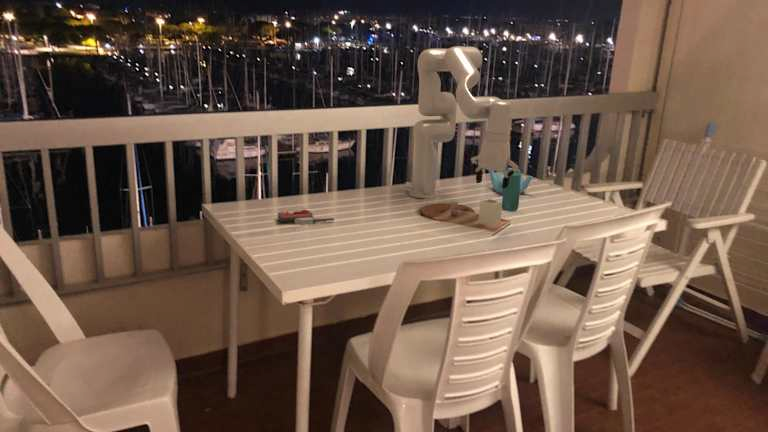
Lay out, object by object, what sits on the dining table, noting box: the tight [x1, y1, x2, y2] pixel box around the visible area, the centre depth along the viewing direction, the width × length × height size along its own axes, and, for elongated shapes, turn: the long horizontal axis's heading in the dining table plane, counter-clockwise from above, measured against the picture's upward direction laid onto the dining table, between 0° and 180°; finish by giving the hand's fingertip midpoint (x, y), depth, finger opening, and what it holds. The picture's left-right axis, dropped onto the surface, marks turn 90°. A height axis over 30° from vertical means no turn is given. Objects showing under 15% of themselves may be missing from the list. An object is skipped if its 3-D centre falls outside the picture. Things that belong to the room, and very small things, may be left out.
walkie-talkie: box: [276, 208, 335, 226], centre depth 214 cm, size 9×4×20 cm
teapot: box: [488, 168, 533, 195], centre depth 263 cm, size 15×15×11 cm
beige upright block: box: [478, 197, 503, 227], centre depth 214 cm, size 6×6×8 cm
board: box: [432, 201, 511, 237], centre depth 219 cm, size 24×16×6 cm, turn 57°
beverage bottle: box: [501, 160, 522, 212], centre depth 231 cm, size 6×7×20 cm
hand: (491, 185), depth 212 cm, fingers open, 9 cm apart
